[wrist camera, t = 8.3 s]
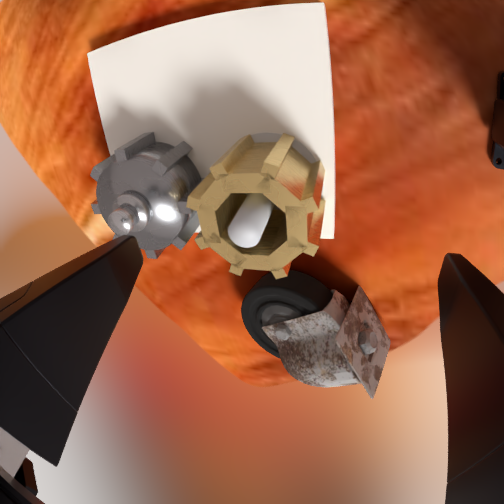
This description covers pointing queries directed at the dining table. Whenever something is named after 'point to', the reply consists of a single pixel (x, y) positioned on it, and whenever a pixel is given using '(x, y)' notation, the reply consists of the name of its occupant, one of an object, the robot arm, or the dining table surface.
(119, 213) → the gear
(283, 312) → the caster wheel
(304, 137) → the gear board
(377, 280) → the dining table surface
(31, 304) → the robot arm
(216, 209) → the brass gear
